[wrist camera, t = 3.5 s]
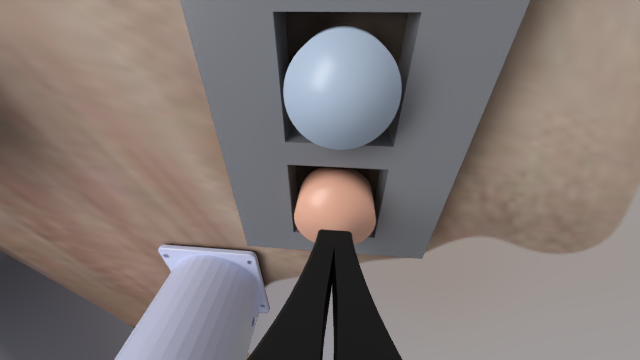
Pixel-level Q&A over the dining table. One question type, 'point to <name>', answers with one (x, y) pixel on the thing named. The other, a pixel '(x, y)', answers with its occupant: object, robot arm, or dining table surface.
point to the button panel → (382, 153)
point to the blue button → (342, 88)
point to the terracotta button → (335, 203)
